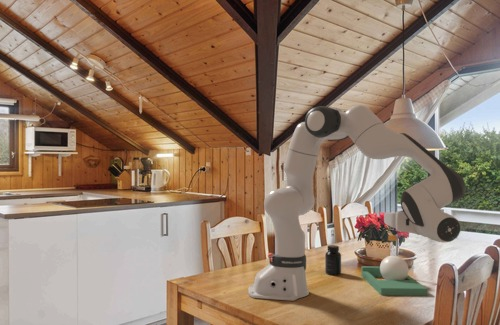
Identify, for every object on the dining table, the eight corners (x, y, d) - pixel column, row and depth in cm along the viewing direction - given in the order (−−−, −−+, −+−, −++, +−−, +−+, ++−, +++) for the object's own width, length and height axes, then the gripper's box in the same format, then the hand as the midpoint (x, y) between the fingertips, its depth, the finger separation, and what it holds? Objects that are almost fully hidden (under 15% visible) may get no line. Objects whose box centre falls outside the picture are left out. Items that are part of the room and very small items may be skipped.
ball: (385, 250, 163) (378, 256, 173) (382, 277, 159) (375, 282, 169) (413, 256, 162) (404, 261, 172) (411, 283, 157) (402, 287, 167)
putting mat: (381, 295, 150) (381, 246, 150) (361, 275, 176) (361, 233, 176) (427, 295, 150) (427, 246, 150) (400, 275, 176) (400, 234, 176)
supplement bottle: (331, 270, 183) (331, 243, 183) (344, 273, 178) (344, 246, 178) (322, 273, 178) (322, 246, 178) (335, 276, 174) (335, 248, 174)
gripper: (457, 211, 129) (437, 207, 143) (393, 211, 129) (378, 206, 142) (457, 231, 129) (436, 225, 143) (392, 231, 129) (378, 224, 142)
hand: (407, 216), depth 143 cm, fingers closed
